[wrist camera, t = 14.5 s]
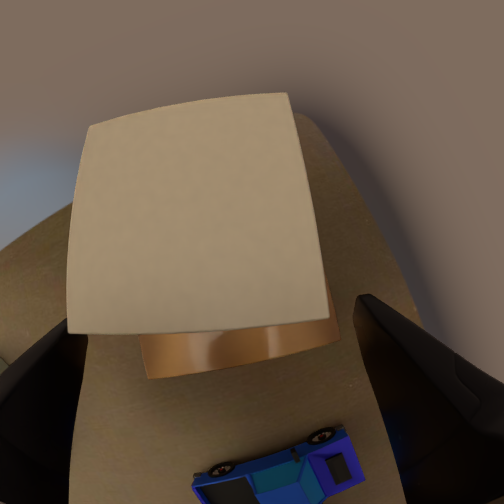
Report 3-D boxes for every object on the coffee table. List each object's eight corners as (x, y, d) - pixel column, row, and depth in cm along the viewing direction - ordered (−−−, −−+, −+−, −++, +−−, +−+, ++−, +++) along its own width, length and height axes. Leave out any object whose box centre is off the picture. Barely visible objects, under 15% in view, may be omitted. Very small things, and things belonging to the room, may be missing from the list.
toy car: (358, 470, 16) (378, 497, 12) (226, 513, 16) (220, 547, 11) (335, 413, 18) (356, 436, 13) (193, 461, 17) (177, 491, 12)
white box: (287, 319, 13) (330, 318, 5) (166, 329, 13) (66, 333, 5) (273, 203, 15) (287, 91, 7) (162, 216, 15) (88, 125, 7)
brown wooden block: (281, 208, 22) (291, 161, 15) (314, 334, 20) (341, 340, 13) (159, 236, 22) (122, 201, 15) (182, 362, 19) (147, 379, 12)
